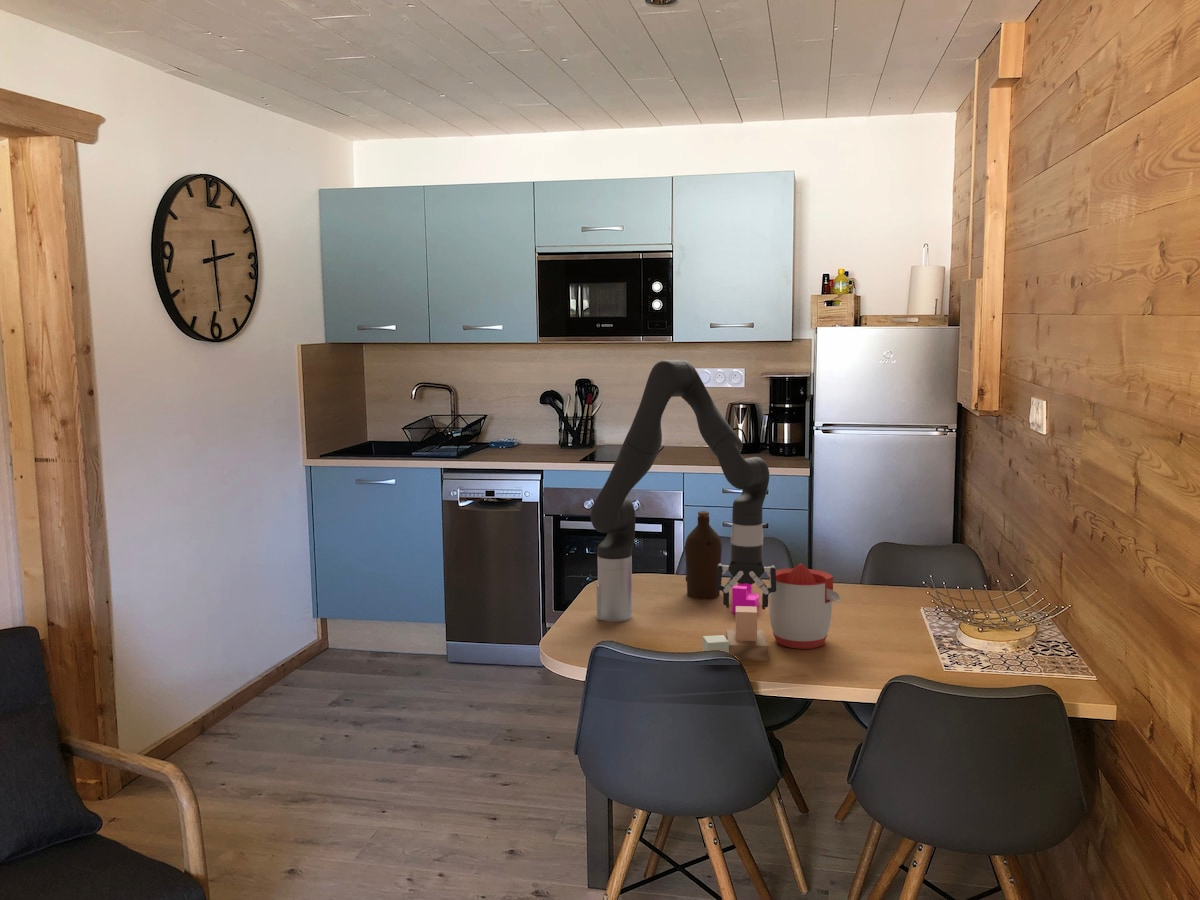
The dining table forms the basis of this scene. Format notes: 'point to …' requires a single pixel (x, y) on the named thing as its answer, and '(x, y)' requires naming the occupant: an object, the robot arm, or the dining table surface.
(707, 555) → the olive oil
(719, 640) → the sage cube
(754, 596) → the toy block
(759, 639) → the walnut base block
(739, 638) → the clay block
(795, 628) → the citrus juicer
